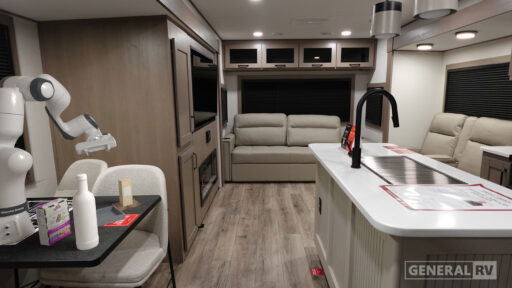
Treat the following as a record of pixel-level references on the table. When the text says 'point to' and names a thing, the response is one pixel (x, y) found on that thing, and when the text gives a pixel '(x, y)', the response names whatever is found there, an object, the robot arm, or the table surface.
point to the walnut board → (120, 207)
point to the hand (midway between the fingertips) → (98, 152)
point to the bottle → (84, 215)
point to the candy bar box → (53, 221)
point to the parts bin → (109, 215)
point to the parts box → (125, 191)
